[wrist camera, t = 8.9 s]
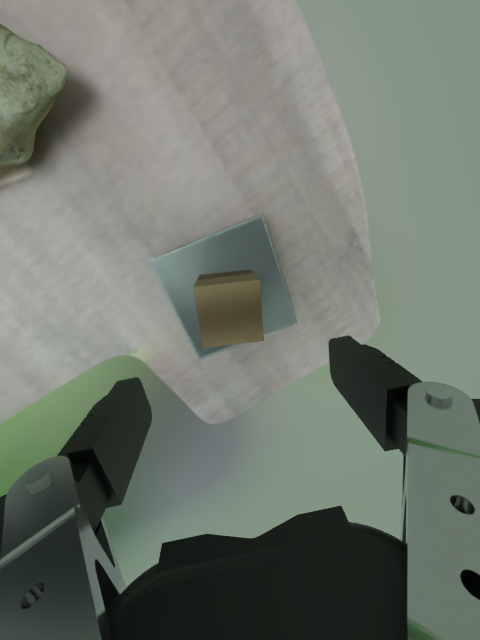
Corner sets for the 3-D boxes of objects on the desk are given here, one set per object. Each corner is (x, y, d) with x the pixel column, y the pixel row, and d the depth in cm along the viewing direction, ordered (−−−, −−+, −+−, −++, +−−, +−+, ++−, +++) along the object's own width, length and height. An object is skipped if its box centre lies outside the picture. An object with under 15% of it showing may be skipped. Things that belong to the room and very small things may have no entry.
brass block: (199, 275, 24) (193, 287, 18) (250, 269, 24) (259, 279, 18) (206, 323, 25) (202, 347, 20) (254, 317, 26) (263, 340, 20)
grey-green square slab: (161, 256, 28) (149, 260, 23) (255, 217, 27) (262, 214, 22) (202, 341, 31) (199, 359, 27) (285, 309, 31) (297, 322, 26)
